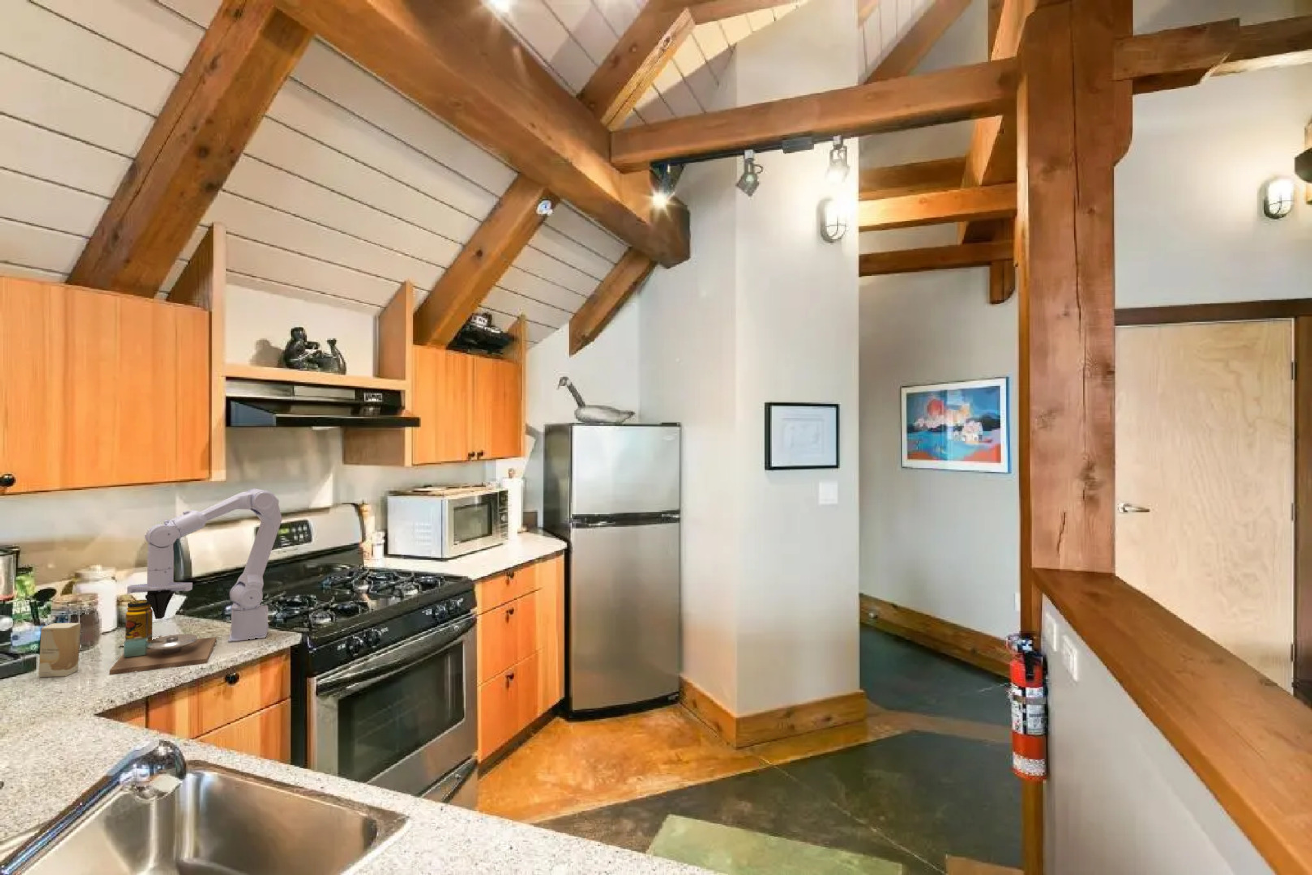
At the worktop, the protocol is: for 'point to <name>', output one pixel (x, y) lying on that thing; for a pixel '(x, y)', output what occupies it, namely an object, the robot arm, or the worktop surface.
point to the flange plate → (156, 644)
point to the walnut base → (166, 657)
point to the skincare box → (59, 649)
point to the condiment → (139, 620)
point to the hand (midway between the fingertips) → (159, 617)
